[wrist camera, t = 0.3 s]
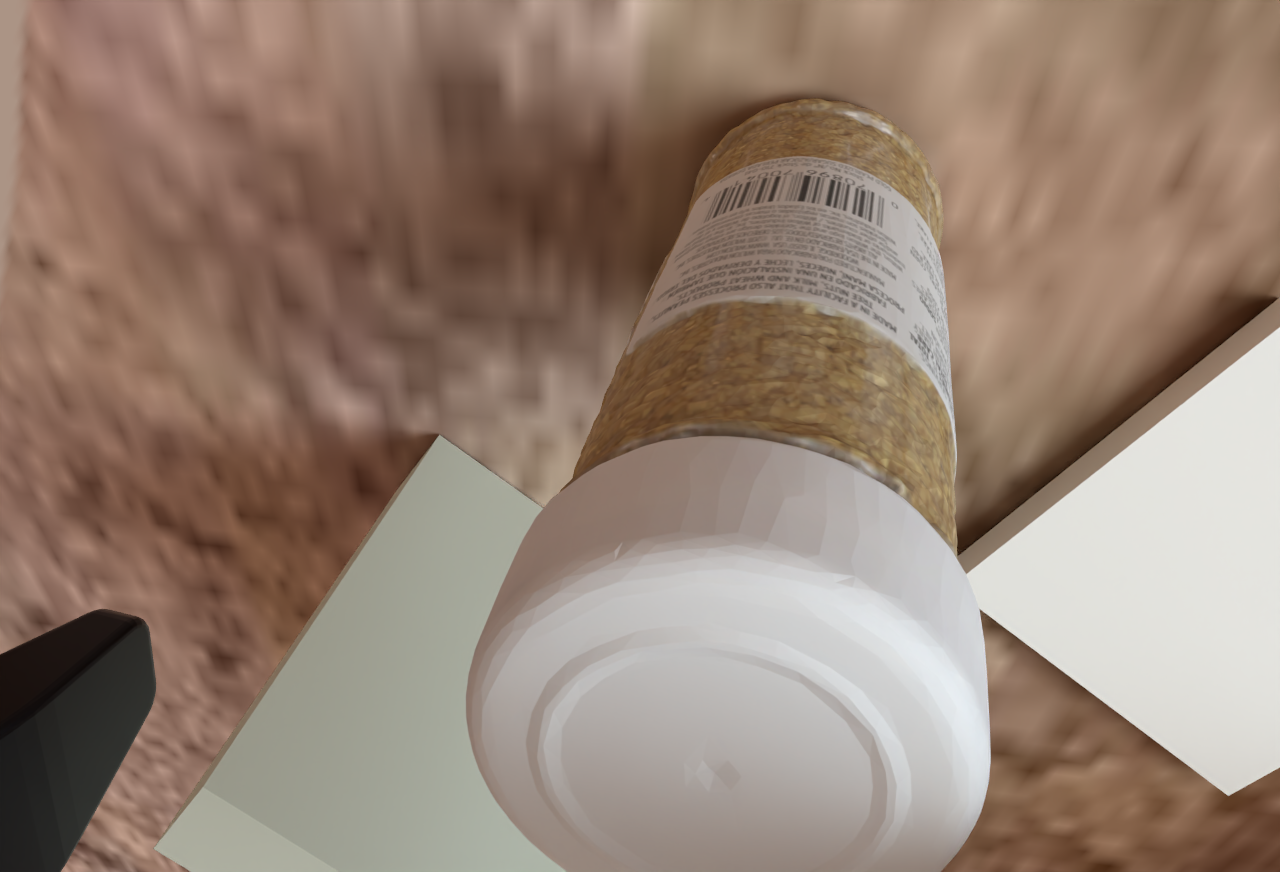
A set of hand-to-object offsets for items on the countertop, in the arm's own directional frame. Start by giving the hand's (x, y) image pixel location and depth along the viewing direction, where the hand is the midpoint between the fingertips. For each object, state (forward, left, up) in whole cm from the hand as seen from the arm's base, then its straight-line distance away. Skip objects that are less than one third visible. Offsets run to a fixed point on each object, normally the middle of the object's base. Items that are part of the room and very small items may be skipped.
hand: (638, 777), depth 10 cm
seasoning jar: (0, 0, -14) cm, 14 cm away
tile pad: (-11, 0, -13) cm, 18 cm away
